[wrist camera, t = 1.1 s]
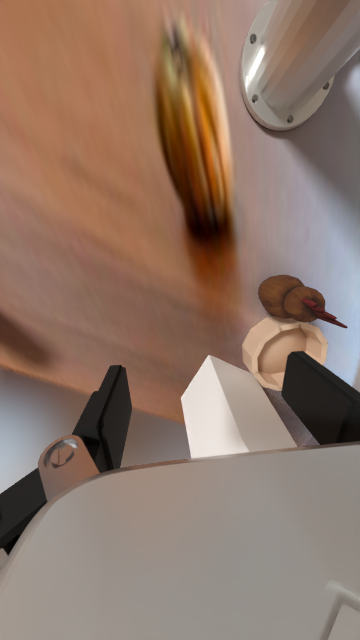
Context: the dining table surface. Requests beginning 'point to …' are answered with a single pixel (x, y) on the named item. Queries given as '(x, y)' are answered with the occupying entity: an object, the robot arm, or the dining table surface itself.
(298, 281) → the wooden figurine
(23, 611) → the robot arm
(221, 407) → the milk
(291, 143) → the dining table surface
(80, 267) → the dining table surface
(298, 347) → the pot
